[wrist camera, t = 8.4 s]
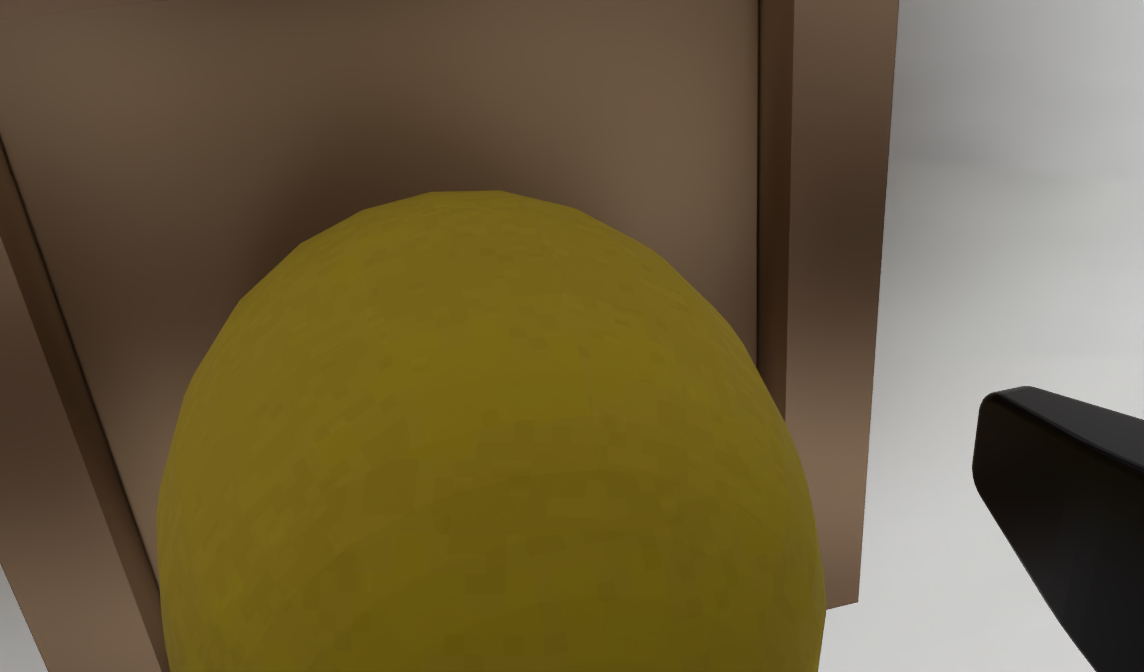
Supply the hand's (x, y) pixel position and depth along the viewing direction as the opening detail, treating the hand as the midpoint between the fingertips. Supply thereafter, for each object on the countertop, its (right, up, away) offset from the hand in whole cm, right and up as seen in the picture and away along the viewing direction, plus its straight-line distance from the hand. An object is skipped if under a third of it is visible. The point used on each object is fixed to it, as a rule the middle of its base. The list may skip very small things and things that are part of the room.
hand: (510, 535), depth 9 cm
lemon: (-1, +2, +4) cm, 5 cm away
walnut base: (-2, +3, +6) cm, 7 cm away
